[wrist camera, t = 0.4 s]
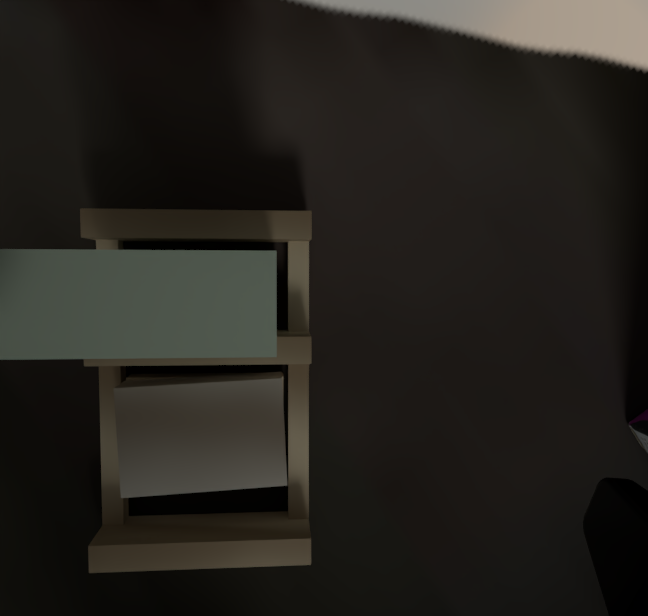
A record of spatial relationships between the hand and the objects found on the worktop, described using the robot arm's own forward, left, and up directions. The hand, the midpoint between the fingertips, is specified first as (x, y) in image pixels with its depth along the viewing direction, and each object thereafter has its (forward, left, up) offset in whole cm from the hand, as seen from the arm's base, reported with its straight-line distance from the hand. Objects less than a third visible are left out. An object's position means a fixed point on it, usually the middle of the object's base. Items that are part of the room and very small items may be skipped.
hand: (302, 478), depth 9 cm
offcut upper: (-4, 0, -14) cm, 15 cm away
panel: (-1, +4, -15) cm, 16 cm away
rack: (-3, +1, -15) cm, 15 cm away
